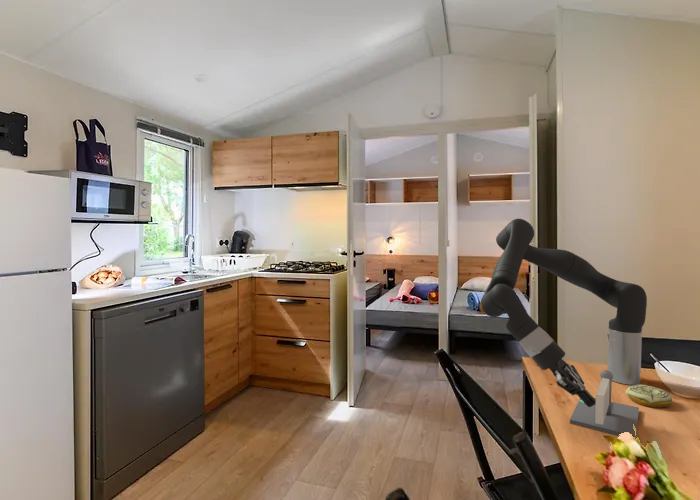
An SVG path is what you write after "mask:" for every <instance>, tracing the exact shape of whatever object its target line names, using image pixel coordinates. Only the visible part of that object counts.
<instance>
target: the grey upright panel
mask: <svg viewBox="0 0 700 500" xmlns="http://www.w3.org/2000/svg"><path fill="white" fill-rule="evenodd" d="M599 377H600V383H599V385H598V388H597V391H596V393H595V398H596V413H595V423H597V424H601V425H603V424H604V420H605V417H606V414H611V402H612V389H613V388H612V385H613V384H612V383H613V381H612V379H613V374H612V373H611V372H610V371H608V369H603V370H601V372H600V373H599Z"/></svg>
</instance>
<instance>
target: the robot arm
mask: <svg viewBox="0 0 700 500" xmlns="http://www.w3.org/2000/svg"><path fill="white" fill-rule="evenodd" d="M534 236H535V229H534V227H533V226H532V224H530V222H529V221H527V220H525V219H524V218H514V219H513V220H511V221H509V223H507V225H506V226H505V227H503V228H502V230H501V231H500V232H499V233H498V234H497V236H496V237H495V241H496V244H497V245H498V248H500V249H502V250H503V252H502V253H501V255H500V257H499V258H498V260H497V261H496V264H495V266H494V269H493V272H492V276H491V280H490V282H489V284H488V285H487V288H486V289H485V291H484V293H483V295H482V296H481V301H480V304H481V309H482V311H483V313H484V314H485V315H486V316H488V317H491V318H498V317H500V316H502V315H503V314H504V313H506V314H507V316H508V320H507V322H506V324H505V326H506V327H505V328H506V329H507V331H508V332H509V333H510V334H511V335H512V337H513V338H514V339H515V340H516V341H517V342H518V343H519V344H520V346H521V348H522V349H523V350H524V351H525V353H526V354H527V355H528V356H529V357H530V358H531V360H533V362H534V363H535V364H536V365H537V366H538V367H539V368H540V369H541V371H546V370H550V372H551V373H552V376H553V377H554V378H555V379H556V380H557V381H555V383H556V385H557V386H558V387H560V388H561V389H562V390H565V391H566V392H567V393H568V394H571V396H578V397H579V399H580V398H581V400H582V401H583V402H584V403H585V404H586V405H587V406H588V407H591V406H593V405H595V403H596V400H595V399H594V398H595V397H594V396H593V395H592V394H591V393H590V392H589V391H588V390H587V389H586V386H585V381H583V379H582V377H581V375H580V373H579V372H578V370H577V369H576V367H575V365H573V364H571V365H570V363H567V362H566V361H565V360H564V359H563V358H564V357H565V356H566V352H565V351H564V350H563V349H562V347H560V346H559V344H558V343H557V342H556V341H555V339H553V338H552V337H551V336H550V335H549V334H548V332H546V331H545V330H544V329H543V328H541V327H540V326H539V324H538V323H537V322H536V321H535V320H534V319H533V318H532V317H531V316H530V315H529V313H528V312H527V309H526V307H525V306H524V304H523V303H522V300H521V298H520V297H519V295H518V294H517V292H516V291H515V290H514V289H515V287H516V284H517V282H518V277H519V273H520V269H521V265H522V263H523V261H526V262H529V263H531V264H533V265H535V266H537V267H540V268H541V269H544V270H546V271H548V272H549V273H551V274H553V275H554V276H557V277H558V278H559V279H562V280H564V281H566V282H568V283H569V284H572V285H574V286H576V287H578V288H580V289H583V290H586V291H588V292H589V293H591V294H594V295H595V296H596V297H598V298H599V299H600V300H602V301H603V302H605V303H607V304H609V305H610V307H613V308H616V316H615V317H614V318H611V319H610V320H609V321H608V340H607V341H608V342H607V343H608V346H607V370H608V371H610V372H611V373H612V374H613V379H612V382H615V383H619V384H623V385H629V386H633V385H641V374H642V372H641V371H642V370H641V369H642V342H643V341H642V339H643V338H642V337H643V336H642V335H643V334H642V333H643V332H642V331H643V327H644V324H645V322H646V317H647V315H646V314H647V306H648V304H647V303H648V302H647V301H648V298H647V293H646V290H645V289H644V288H643V287H642V286H641V285H639V284H636V283H630V282H626V281H621V280H617V279H614V278H611V277H610V276H608V275H605V274H603V273H601V272H600V271H598V270H597V269H596V268H595V267H594V266H593V265H592V264H591V263H590V262H588V261H587V260H586V259H584V258H583V257H580V256H579V255H577V254H575V253H574V252H571V251H569V250H566V249H558V248H541V247H536V246H533V245H531V243H532V241H533V240H534Z"/></svg>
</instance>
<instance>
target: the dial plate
mask: <svg viewBox="0 0 700 500" xmlns="http://www.w3.org/2000/svg"><path fill="white" fill-rule="evenodd" d="M593 398H594V399H595V400H596V397H593ZM639 411H640V407H638V406H634V405H628V404H625V403H620V402H615V401H611V414H606V417H605V420H604V424H603V425H601V424H597V423H595V413H596V403H595V405H593V406H591V407H588V406H587V405H586V404H585V403H584V402H583V401H582V400H581V398H580V397H579V399H578V402H577V403H576V406H575V408H574V410H573V412H572V414H571V416H570V419H569V424H570V425H571V424H572V425H575V426H580V427H583V428H587V429H590V430H591V429H592V430H595V431H599V432H603V433H607V434H611V435H614V436H616V437H617V436H618V435H619V434H621V433H624V432H629V433H630V434H632V436H633V437H635V431H634V429H633V424H634V426H635V428H636V430H638V421H639V414H640V413H639ZM618 437H619V436H618Z"/></svg>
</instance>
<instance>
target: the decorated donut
mask: <svg viewBox="0 0 700 500" xmlns="http://www.w3.org/2000/svg"><path fill="white" fill-rule="evenodd" d="M625 394H626V396H628V398H629V399H630V400H631V401H632V402H634V403H636V404H637V405H640V406H644V407H650V408H657V409H658V408H666V407H669V406H670V405H671V403H672V402H673V396H672V394H670V393H669V392H668V391H667V390H664V389H662V388H660V387H659V388H658V387H656V386H651V385H648V384H636V385H629V387H628V388H627V389H626V390H625Z"/></svg>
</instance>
